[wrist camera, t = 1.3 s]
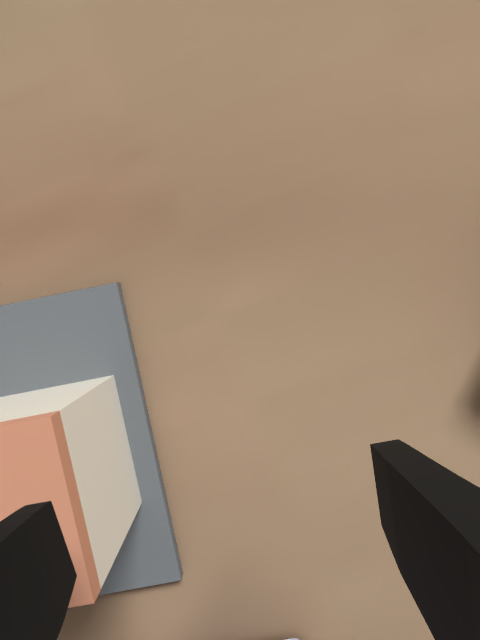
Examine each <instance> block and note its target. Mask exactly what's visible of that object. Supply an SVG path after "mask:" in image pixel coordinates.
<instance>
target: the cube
mask: <svg viewBox="0 0 480 640" xmlns="http://www.w3.org/2000/svg"><path fill="white" fill-rule="evenodd" d="M47 501H51V502H52V505H53V507H54V510H55V513H56V516H57V519H58V522H59V525H60V528H61V531H62V534H63V536H64V539H65V542H66V545H67V548H68V551H69V554H70V557H71V560H72V563H73V565H74V568H75V571H76V574H77V578H76V581H75V585H74V588H73V592H72V595H71V599H70V602H69V606H68V608H72V607H77V606H83V605H88V604H94V603H95V601H96V599H97V596H98V594H99V592H100V590H101V588H102V586H103V584H104V582H105V579H106V577H107V575H108V573H109V571H110V569H111V567H112V565H113V563H114V560H115V558H116V556H117V554H118V552H119V550H120V548H121V546H122V544H123V541H124V539H125V537H126V535H127V533H128V531H129V529H130V527H131V525H132V522H133V520H134V518H135V516H136V514H137V512H138V510H139V508H140V505H141V503H142V500H141V496H140V491H139V487H138V482H137V478H136V473H135V469H134V464H133V460H132V455H131V451H130V446H129V441H128V437H127V432H126V428H125V423H124V419H123V414H122V410H121V405H120V401H119V396H118V392H117V387H116V383H115V378H114V375H112V376H106V377H101V378H96V379H91V380H86V381H81V382H76V383H70V384H65V385H60V386H55V387H50V388H45V389H40V390H34V391H29V392H24V393H19V394H14V395H9V396H4V397H0V521H2V520H3V519H5V518H6V517H8V516H9V515H11V514H12V513H14V512H15V511H17V510H18V509H20V508H22V507H23V506H25V505H30V504H35V503H41V502H47Z"/></svg>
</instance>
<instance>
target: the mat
mask: <svg viewBox="0 0 480 640" xmlns="http://www.w3.org/2000/svg"><path fill="white" fill-rule="evenodd" d="M112 375H114V378H115V383H116V387H117V392H118V396H119V401H120V405H121V410H122V414H123V419H124V423H125V428H126V432H127V437H128V441H129V446H130V451H131V455H132V460H133V464H134V469H135V473H136V478H137V482H138V487H139V491H140V496H141V500H142V503H141V505H140V508H139V510H138V512H137V514H136V516H135V518H134V520H133V522H132V525H131V527H130V529H129V531H128V533H127V535H126V537H125V539H124V541H123V544H122V546H121V548H120V550H119V552H118V554H117V556H116V558H115V560H114V563H113V565H112V567H111V569H110V571H109V573H108V575H107V577H106V579H105V582H104V584H103V586H102V588H101V590H100V592H99V594H98V596H99V595H104V594H110V593H115V592H120V591H126V590H131V589H137V588H142V587H147V586H153V585H158V584H164V583H169V582H175V581H180V580H181V579H182V574H183V572H182V567H181V563H180V558H179V553H178V549H177V544H176V539H175V535H174V530H173V526H172V521H171V516H170V512H169V507H168V502H167V498H166V493H165V489H164V484H163V479H162V475H161V470H160V466H159V461H158V456H157V452H156V447H155V442H154V438H153V433H152V429H151V424H150V419H149V415H148V410H147V405H146V401H145V396H144V392H143V387H142V382H141V378H140V373H139V369H138V364H137V359H136V355H135V350H134V345H133V341H132V336H131V332H130V327H129V322H128V318H127V313H126V308H125V304H124V299H123V295H122V290H121V285H120V283H112V284H107V285H102V286H96V287H91V288H86V289H81V290H76V291H71V292H66V293H61V294H56V295H51V296H46V297H41V298H36V299H31V300H26V301H21V302H16V303H11V304H6V305H1V306H0V397H4V396H9V395H14V394H19V393H24V392H29V391H34V390H40V389H45V388H50V387H55V386H60V385H65V384H70V383H76V382H81V381H86V380H91V379H96V378H101V377H106V376H112Z"/></svg>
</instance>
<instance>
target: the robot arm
mask: <svg viewBox="0 0 480 640" xmlns="http://www.w3.org/2000/svg"><path fill="white" fill-rule="evenodd" d="M370 446H371V453H372V460H373V468H374V475H375V482H376V489H377V496H378V503H379V510H380V517H381V524H382V527H383V530H384V532H385V535H386V538H387V540H388V543H389V545H390V548H391V551H392V553H393V556H394V558H395V561H396V563H397V565H398V568H399V570H400V573H401V575H402V577H403V579H404V581H405V583H406V585H407V587H408V589H409V590H410V592H411V594H412V596H413V598H414V600H415V602H416V604H417V606H418V608H419V610H420V612H421V614H422V616H423V617H424V619H425V621H426V623H427V625H428V627H429V629H430V631H431V633H432V635H433V637H434V638H435V640H480V488H479V487H477V486H476V485H474V484H472V483H470V482H469V481H467V480H465V479H463V478H462V477H460V476H458V475H457V474H455V473H453V472H452V471H450V470H448V469H447V468H445V467H443V466H442V465H440V464H438V463H437V462H435V461H433V460H432V459H430V458H428V457H427V456H425V455H424V454H422V453H420V452H419V451H417V450H416V449H414V448H412V447H411V446H409V445H407V444H406V443H404V442H402V441H400V440H399V439H398V440H392V441H386V442H381V443H375V444H370ZM76 578H77V574H76V571H75V568H74V565H73V563H72V560H71V557H70V554H69V551H68V548H67V545H66V542H65V539H64V536H63V534H62V531H61V528H60V525H59V522H58V519H57V516H56V513H55V510H54V507H53V505H52V502H51V501H47V502H41V503H35V504H30V505H25V506H23V507H22V508H20V509H18V510H17V511H15V512H14V513H12V514H11V515H9V516H8V517H6V518H5V519H3V520H2V521H0V640H57V637H58V635H59V632H60V630H61V627H62V624H63V621H64V618H65V615H66V612H67V609H68V606H69V602H70V599H71V595H72V592H73V588H74V585H75V581H76ZM285 640H299V639H297V638H290V639H285Z"/></svg>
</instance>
